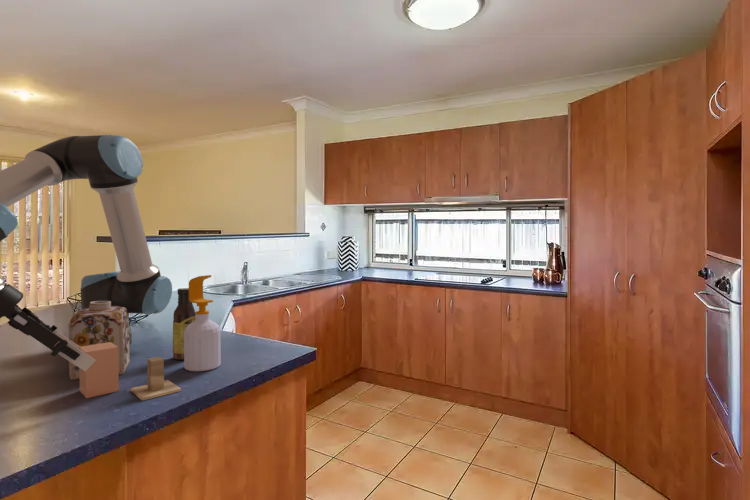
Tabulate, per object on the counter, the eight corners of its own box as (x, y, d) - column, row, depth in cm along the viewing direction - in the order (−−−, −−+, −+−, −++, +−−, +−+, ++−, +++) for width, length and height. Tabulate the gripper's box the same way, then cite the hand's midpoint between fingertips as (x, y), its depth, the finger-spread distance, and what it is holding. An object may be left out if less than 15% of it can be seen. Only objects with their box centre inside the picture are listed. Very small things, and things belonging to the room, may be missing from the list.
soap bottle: (198, 374, 107) (197, 277, 106) (177, 368, 112) (176, 275, 111) (228, 365, 114) (227, 274, 114) (206, 359, 119) (205, 273, 118)
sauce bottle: (187, 361, 118) (186, 290, 117) (167, 359, 119) (166, 289, 118) (201, 354, 124) (201, 287, 123) (182, 353, 125) (182, 286, 125)
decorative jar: (80, 366, 113) (79, 299, 112) (130, 361, 117) (129, 297, 117) (68, 381, 102) (66, 306, 101) (124, 375, 106) (122, 303, 106)
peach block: (79, 390, 95) (78, 346, 95) (111, 384, 100) (110, 341, 99) (86, 398, 91) (85, 352, 91) (118, 390, 95) (118, 346, 95)
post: (130, 390, 95) (130, 358, 95) (167, 382, 101) (167, 352, 101) (142, 400, 90) (141, 366, 89) (181, 391, 95) (180, 359, 95)
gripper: (-33, 304, 88) (57, 360, 99) (-28, 322, 71) (81, 388, 82) (1, 277, 92) (84, 334, 103) (13, 288, 74) (112, 355, 85)
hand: (83, 358), depth 92 cm, fingers open, 13 cm apart
